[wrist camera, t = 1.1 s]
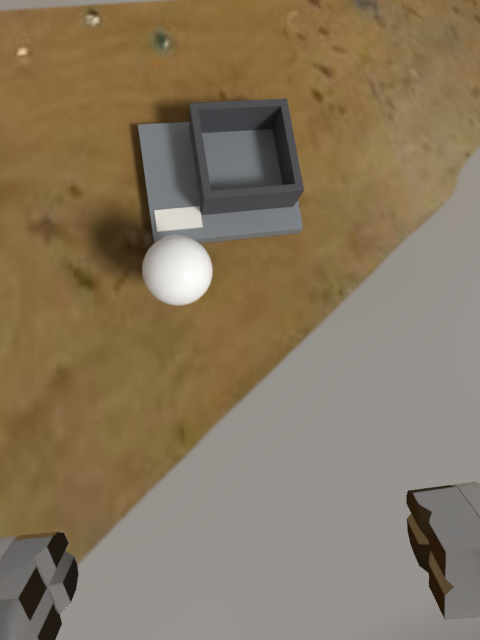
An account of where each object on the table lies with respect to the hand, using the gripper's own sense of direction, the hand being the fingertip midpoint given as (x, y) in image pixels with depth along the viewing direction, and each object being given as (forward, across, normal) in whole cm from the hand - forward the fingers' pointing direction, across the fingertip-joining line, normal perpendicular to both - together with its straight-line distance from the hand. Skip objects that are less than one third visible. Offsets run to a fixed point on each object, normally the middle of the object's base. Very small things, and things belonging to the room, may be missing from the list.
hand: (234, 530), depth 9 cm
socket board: (+41, +1, -9) cm, 42 cm away
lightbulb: (+34, +7, +2) cm, 35 cm away
